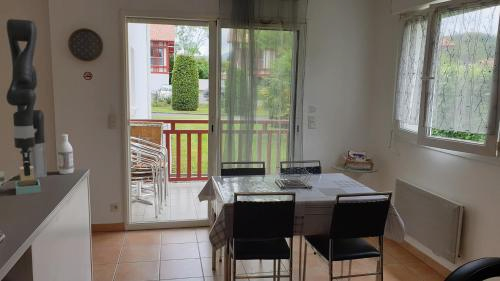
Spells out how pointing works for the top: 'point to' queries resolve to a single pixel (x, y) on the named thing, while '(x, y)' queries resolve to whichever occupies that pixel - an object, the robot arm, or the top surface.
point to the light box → (27, 176)
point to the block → (27, 182)
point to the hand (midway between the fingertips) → (27, 173)
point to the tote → (28, 188)
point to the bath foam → (65, 156)
